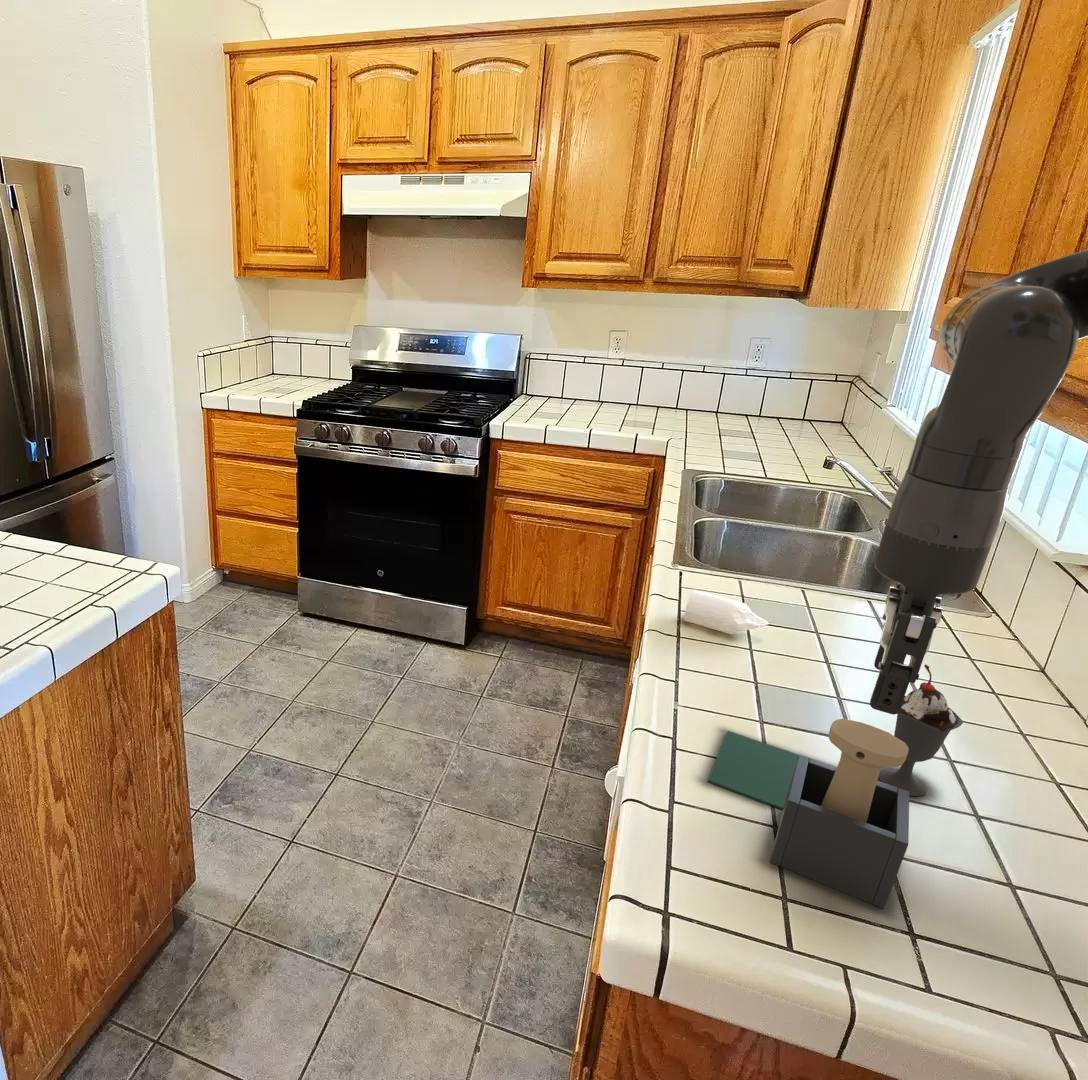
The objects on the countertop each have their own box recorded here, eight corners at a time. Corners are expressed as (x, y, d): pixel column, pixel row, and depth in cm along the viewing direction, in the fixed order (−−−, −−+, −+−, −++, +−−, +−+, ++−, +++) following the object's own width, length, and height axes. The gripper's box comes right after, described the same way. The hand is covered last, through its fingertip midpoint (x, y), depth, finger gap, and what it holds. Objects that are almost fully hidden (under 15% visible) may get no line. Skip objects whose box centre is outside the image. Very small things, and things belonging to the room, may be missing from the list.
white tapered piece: (758, 650, 119) (766, 618, 117) (681, 626, 126) (687, 595, 124) (767, 636, 123) (775, 606, 121) (692, 613, 130) (699, 584, 128)
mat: (851, 774, 91) (852, 772, 91) (843, 833, 82) (844, 831, 82) (727, 732, 98) (727, 730, 98) (707, 781, 89) (707, 779, 89)
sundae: (881, 757, 94) (917, 652, 89) (943, 787, 89) (986, 678, 84) (858, 777, 91) (894, 669, 85) (922, 809, 86) (964, 697, 80)
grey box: (887, 852, 79) (909, 791, 76) (884, 909, 72) (908, 844, 69) (781, 812, 84) (799, 753, 81) (769, 862, 77) (787, 800, 75)
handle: (857, 887, 75) (902, 764, 69) (788, 852, 79) (825, 733, 73) (870, 862, 78) (913, 741, 72) (802, 829, 82) (838, 713, 76)
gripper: (1000, 565, 57) (934, 741, 63) (987, 516, 68) (931, 670, 74) (884, 541, 61) (832, 710, 67) (890, 499, 72) (844, 646, 78)
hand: (884, 689), depth 71 cm, fingers open, 8 cm apart
